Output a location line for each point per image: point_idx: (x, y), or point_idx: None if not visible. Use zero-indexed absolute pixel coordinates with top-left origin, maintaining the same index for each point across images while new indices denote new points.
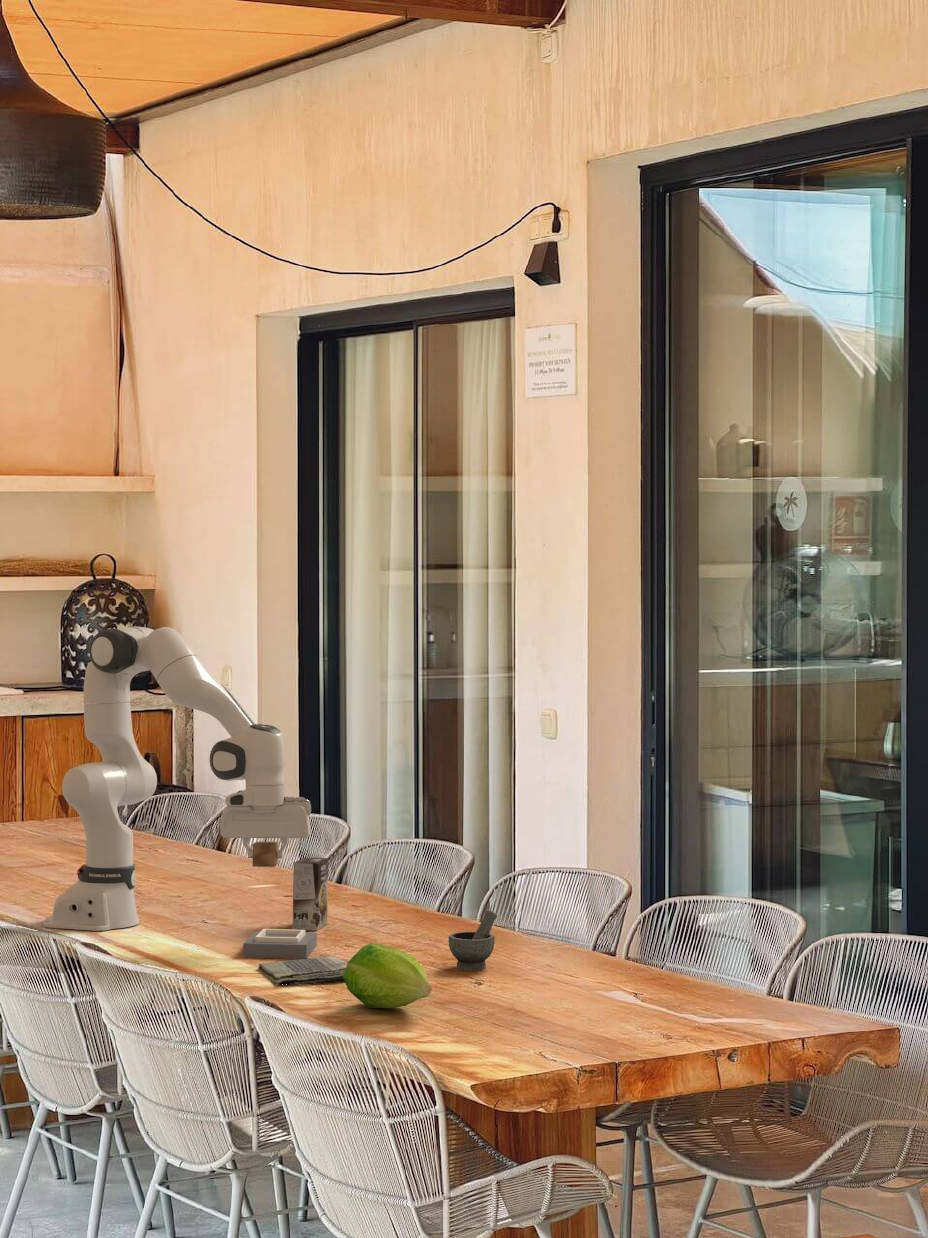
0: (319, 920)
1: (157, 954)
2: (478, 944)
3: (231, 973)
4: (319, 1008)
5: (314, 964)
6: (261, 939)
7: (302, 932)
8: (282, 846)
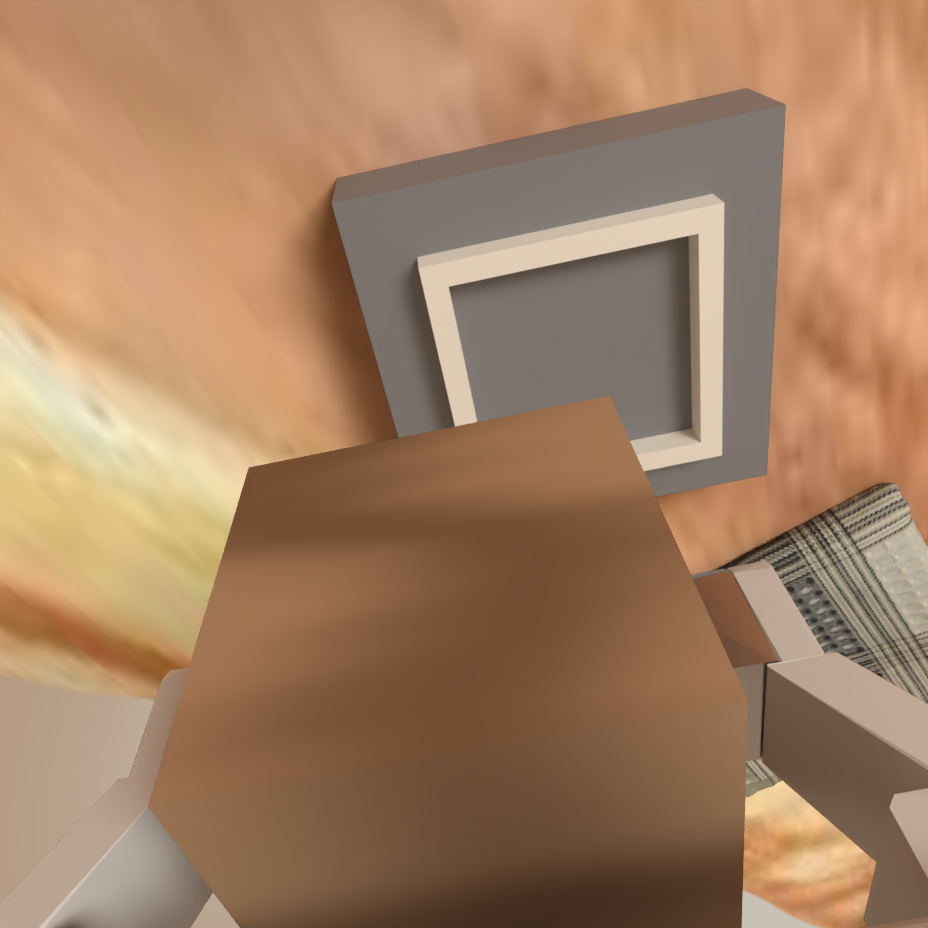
0: None
1: (5, 572)
2: None
3: None
4: (855, 890)
5: (818, 638)
6: None
7: (718, 295)
8: (861, 833)
